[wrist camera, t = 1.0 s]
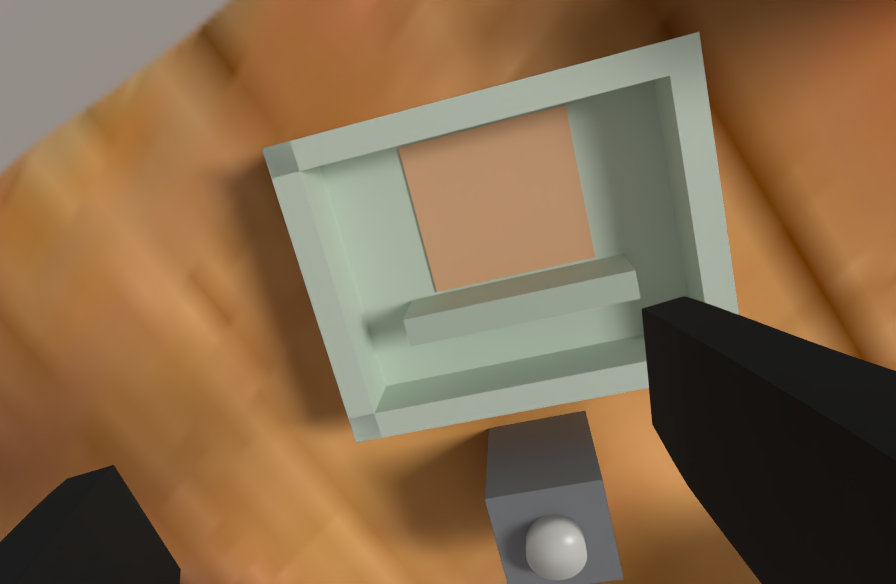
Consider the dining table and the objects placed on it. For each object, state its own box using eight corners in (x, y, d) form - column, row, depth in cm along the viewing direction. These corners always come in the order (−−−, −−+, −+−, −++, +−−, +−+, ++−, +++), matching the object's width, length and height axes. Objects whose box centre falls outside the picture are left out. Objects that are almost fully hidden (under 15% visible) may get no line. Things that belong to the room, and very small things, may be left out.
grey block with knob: (603, 494, 27) (628, 596, 21) (510, 510, 28) (510, 612, 22) (585, 410, 26) (605, 493, 20) (488, 427, 27) (483, 513, 21)
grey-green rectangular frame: (718, 338, 24) (746, 369, 22) (372, 406, 27) (356, 442, 24) (673, 41, 22) (699, 31, 19) (291, 143, 24) (261, 148, 21)
